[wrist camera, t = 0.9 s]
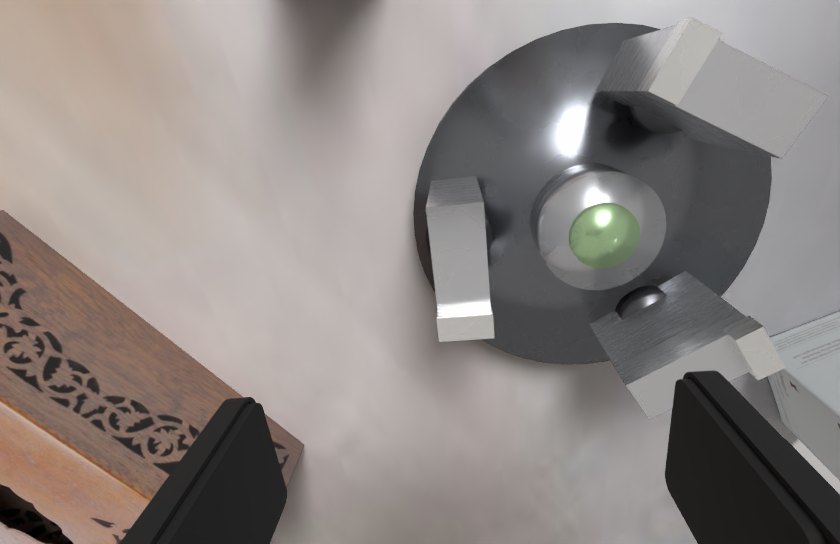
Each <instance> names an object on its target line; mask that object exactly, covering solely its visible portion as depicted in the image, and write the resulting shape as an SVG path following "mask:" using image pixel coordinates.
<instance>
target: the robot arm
mask: <svg viewBox="0 0 840 544" xmlns="http://www.w3.org/2000/svg"><path fill="white" fill-rule="evenodd" d="M665 479H666V484H667V487H668V490H669V492H670V494H671V496H672V498H673V499H674V501H675V503H676V505H677V507H678V508H679V510H680V512H681V514H682V516H683V517H684V519H685V521H686V523H687V525H688V527H689V528H690V530H691V532H692V534H693V536H694V537H695V539H696V541H697V543H698V544H840V495H839V494H838V493H837V492H836V491H835V489H834V488H833V487H832V486H831V485H830V484H829V483H828V482H827V481H826V480H825V479H824V478H823V477H822V476H821V475H820V474H819V473H818V472H817V471H816V470H815V469H814V468H813V467H812V466H811V465H810V464H809V463H808V462H807V461H806V460H805V459H804V458H803V457H802V456H801V455H800V453H798V451H797V450H796V449H795V448H794V447H793V446H792V445H791V444H790V443H789V442H788V441H787V440H785V439H784V438H783V437H782V436H781V435H780V434H779V433H778V432H777V431H776V430H775V429H774V428H773V427H772V426H771V425H770V424H769V423H768V422H767V421H766V420H765V419H764V418H763V417H762V416H761V415H760V414H759V413H758V411H757V410H756V409H755V408H754V407H753V406H752V405H751V404H750V403H749V402H748V401H747V400H746V399H745V398H744V397H743V396H742V395H741V394H740V393H739V392H738V391H737V390H736V389H735V388H734V387H733V386H732V385H731V384H730V383H729V382H728V381H727V380H726V378H725V377H724V376H723V375H722V374H720V373H719V372H718V371H714V370H712V371H695V372H687V373H685V374H684V376H683V379H679V380H677V381H676V384H675V390H674V399H673V408H672V417H671V426H670V434H669V443H668V452H667V461H666V469H665ZM286 498H287V488H286V484H285V481H284V478H283V474H282V471H281V467H280V464H279V461H278V457H277V454H276V451H275V447H274V444H273V440H272V437H271V434H270V430H269V427H268V424H267V420H266V417H265V413H264V410H263V407H262V405H261V404H260V403H256V402H255V400H254V399H253V398H251V397H246V398H229V399H226V400H225V401H224V402H223V403H222V404H221V406H220V407H219V408H218V410H217V411H216V412H215V414H214V415H213V416H212V418H211V419H210V421H209V422H208V423H207V425H206V426H205V427H204V429H203V430H202V431H201V433H200V434H199V436H198V437H197V438H196V440H195V441H194V442H193V444H192V445H191V446H190V448H189V449H188V451H187V452H186V453H185V455H184V456H183V457H182V459H181V460H180V461H179V463H178V464H177V466H176V467H175V468H174V470H173V471H172V472H171V474H170V475H169V476H168V478H167V479H166V481H165V482H164V483H163V485H162V486H161V487H160V489H159V490H158V491H157V493H156V494H155V496H154V497H153V498H152V500H151V501H150V502H149V504H148V505H147V506H146V508H145V509H144V511H143V512H142V513H141V515H140V516H139V517H138V519H137V520H136V521H135V523H134V524H133V526H132V527H131V528H130V530H129V531H128V532H127V534H126V535H125V536H124V538H123V539H122V541H121V542H120V543H119V544H270V541H271V539H272V536H273V534H274V531H275V529H276V526H277V524H278V521H279V519H280V516H281V514H282V511H283V509H284V506H285V503H286Z"/></svg>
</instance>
